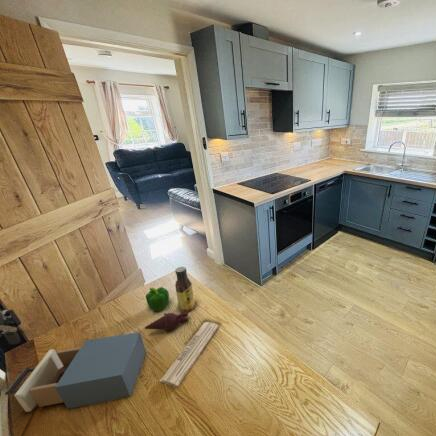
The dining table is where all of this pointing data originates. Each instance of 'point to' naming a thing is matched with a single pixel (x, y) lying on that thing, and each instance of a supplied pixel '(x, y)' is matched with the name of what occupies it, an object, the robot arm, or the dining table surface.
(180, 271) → the sauce bottle
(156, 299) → the bell pepper
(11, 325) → the robot arm
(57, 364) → the drawer
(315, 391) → the dining table surface
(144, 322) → the dining table surface
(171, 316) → the beetroot
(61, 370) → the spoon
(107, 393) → the cabinet
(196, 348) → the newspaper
